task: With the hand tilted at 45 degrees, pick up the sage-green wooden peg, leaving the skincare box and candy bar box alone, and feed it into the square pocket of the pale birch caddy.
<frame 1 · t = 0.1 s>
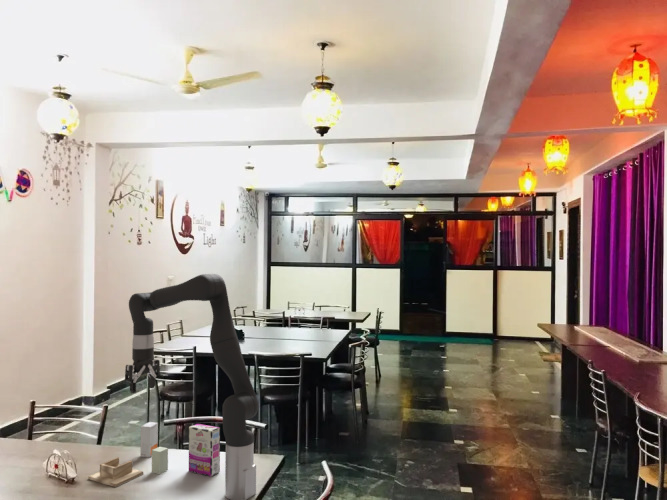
hand: (142, 390, 194), 29 cm above the table, tool pointing down, fingers open, 8 cm apart
birch caddy: (116, 476, 187), on the table
skincare box: (149, 455, 209), on the table
candy bar box: (204, 472, 192), on the table
sage peg: (159, 471, 193), on the table
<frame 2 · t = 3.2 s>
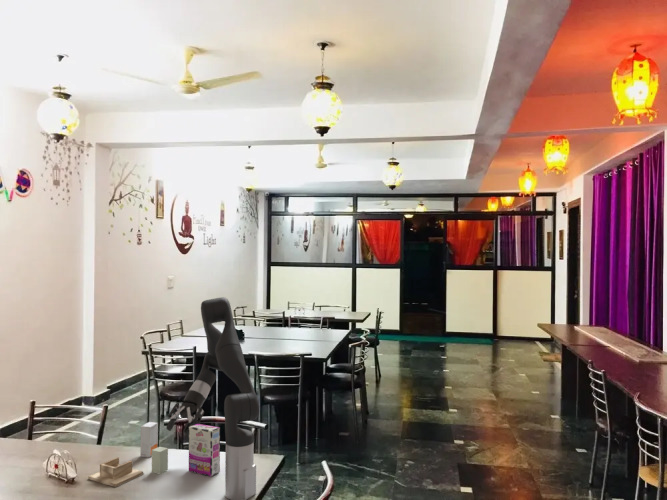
hand: (176, 431, 200), 12 cm above the table, tool tilted 45°, fingers open, 8 cm apart
nothing on the table moved.
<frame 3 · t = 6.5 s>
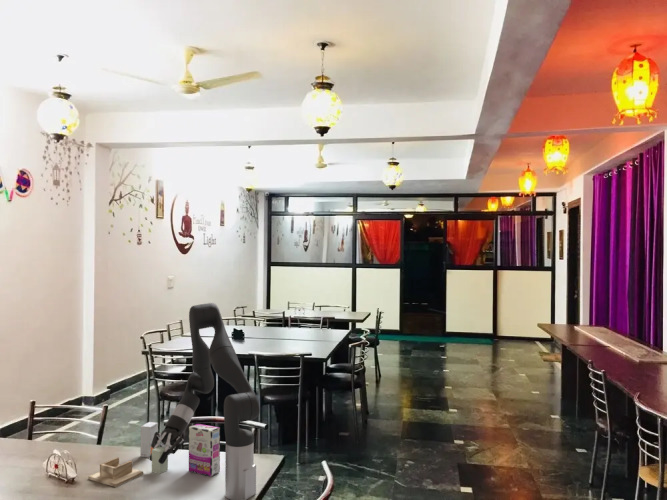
hand: (155, 461, 191), 4 cm above the table, tool tilted 45°, fingers closed on sage peg, 4 cm apart
sage peg: (159, 470, 193), on the table, touching gripper
everything else where it was.
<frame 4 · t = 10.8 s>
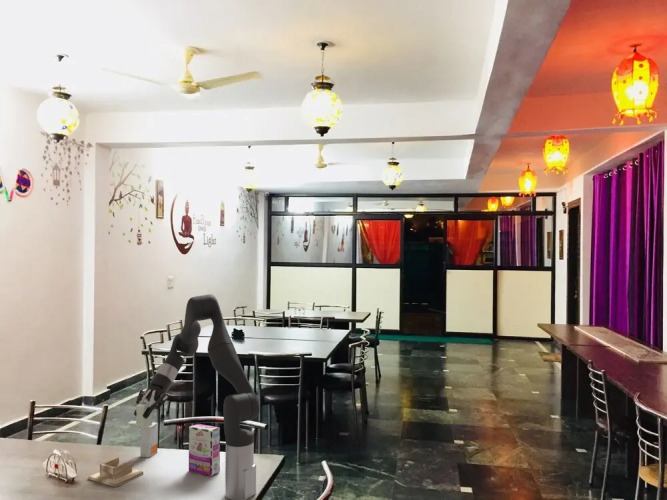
hand: (140, 416, 197), 19 cm above the table, tool tilted 45°, fingers closed on sage peg, 4 cm apart
sage peg: (144, 425, 199), point 15 cm above the table, touching gripper
everything else where it was.
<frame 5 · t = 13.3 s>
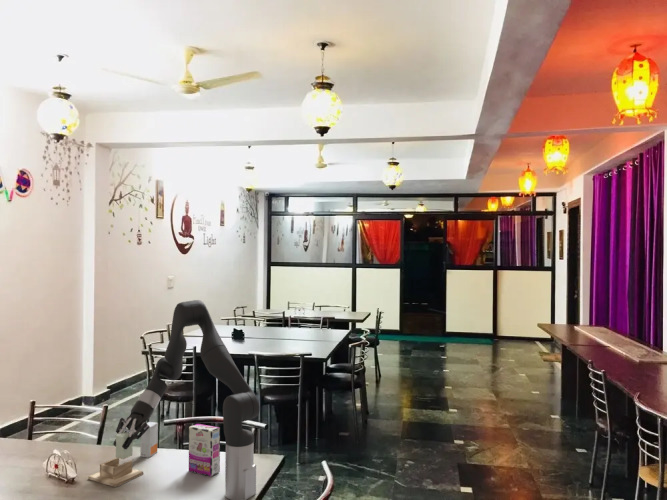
hand: (119, 446, 189), 10 cm above the table, tool tilted 45°, fingers closed on sage peg, 4 cm apart
sage peg: (124, 456, 191), point 6 cm above the table, touching gripper
everything else where it was.
when the fingers open (7 cm above the table, at t = 15.4 s): sage peg drops 2 cm, resting on birch caddy.
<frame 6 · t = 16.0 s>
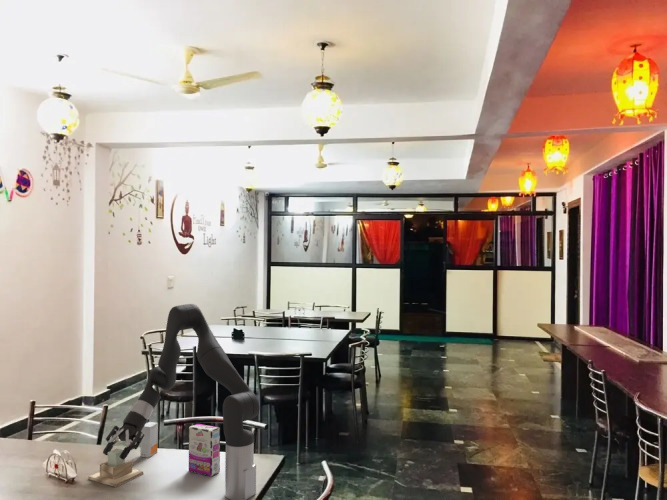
hand: (113, 456, 186), 8 cm above the table, tool tilted 45°, fingers open, 8 cm apart
sage peg: (116, 473, 187), point 1 cm above the table, touching birch caddy
everything else where it was.
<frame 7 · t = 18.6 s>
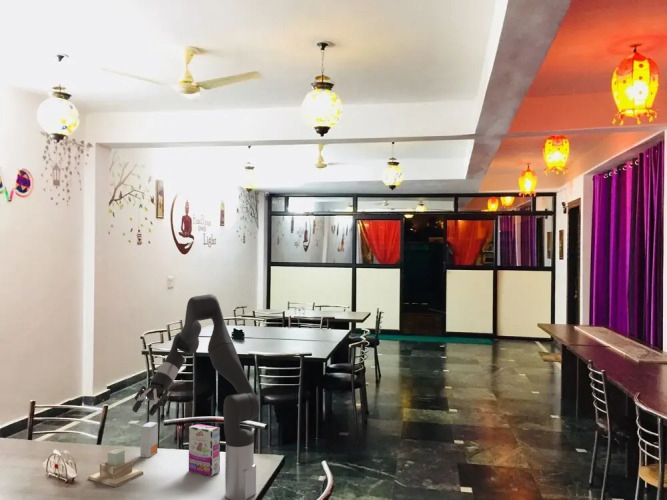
hand: (142, 413, 198), 20 cm above the table, tool tilted 45°, fingers open, 8 cm apart
nothing on the table moved.
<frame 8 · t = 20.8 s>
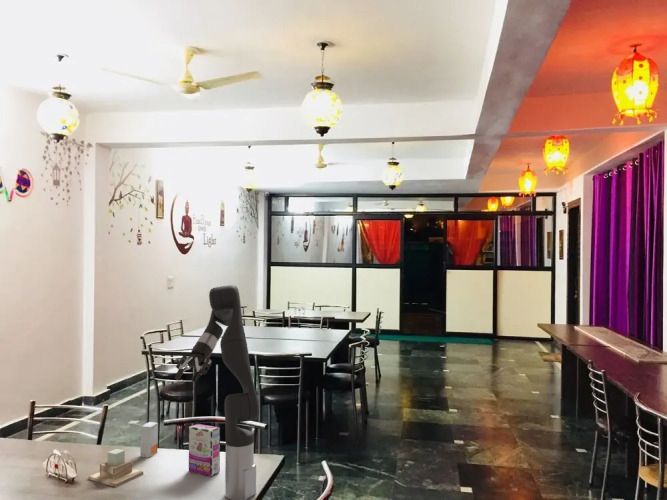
hand: (184, 380, 204), 31 cm above the table, tool tilted 45°, fingers open, 8 cm apart
nothing on the table moved.
at the end: sage peg 0.1 cm from the target spot, point 1.0 cm above the table; sage peg tilted 0°; the gripper is holding nothing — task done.
